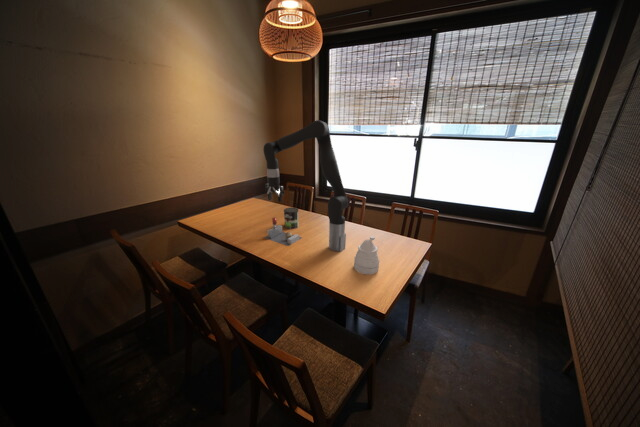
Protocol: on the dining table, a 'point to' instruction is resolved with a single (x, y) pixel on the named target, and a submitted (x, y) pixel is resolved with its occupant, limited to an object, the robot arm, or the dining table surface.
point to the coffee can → (291, 218)
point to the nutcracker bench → (284, 239)
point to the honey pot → (367, 257)
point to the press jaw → (274, 229)
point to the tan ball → (288, 234)
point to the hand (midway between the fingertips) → (274, 200)
